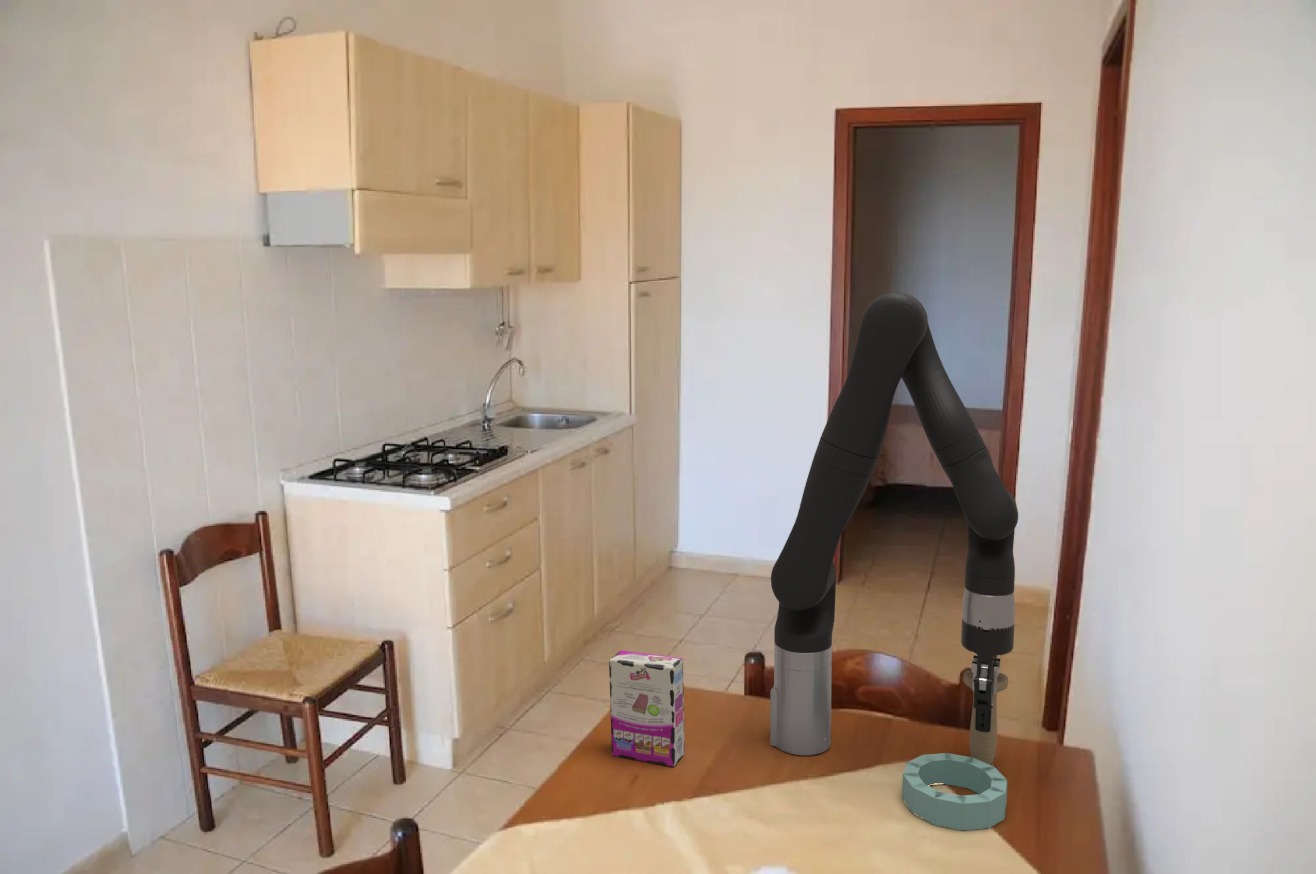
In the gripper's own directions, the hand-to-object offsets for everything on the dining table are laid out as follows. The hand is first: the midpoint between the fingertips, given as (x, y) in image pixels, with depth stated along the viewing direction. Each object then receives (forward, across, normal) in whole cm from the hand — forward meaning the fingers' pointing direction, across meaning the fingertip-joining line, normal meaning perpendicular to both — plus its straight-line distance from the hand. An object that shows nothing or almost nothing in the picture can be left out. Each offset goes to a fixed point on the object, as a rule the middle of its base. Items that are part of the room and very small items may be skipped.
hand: (983, 724), depth 146 cm
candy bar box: (+7, +15, -50) cm, 53 cm away
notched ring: (+7, +12, -3) cm, 14 cm away
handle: (+7, 0, 0) cm, 7 cm away
